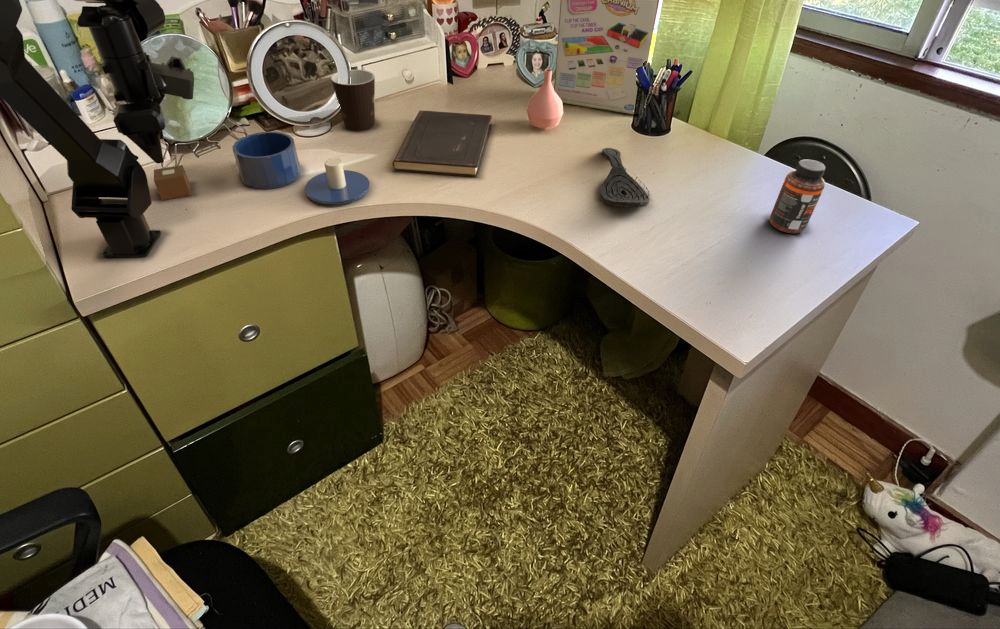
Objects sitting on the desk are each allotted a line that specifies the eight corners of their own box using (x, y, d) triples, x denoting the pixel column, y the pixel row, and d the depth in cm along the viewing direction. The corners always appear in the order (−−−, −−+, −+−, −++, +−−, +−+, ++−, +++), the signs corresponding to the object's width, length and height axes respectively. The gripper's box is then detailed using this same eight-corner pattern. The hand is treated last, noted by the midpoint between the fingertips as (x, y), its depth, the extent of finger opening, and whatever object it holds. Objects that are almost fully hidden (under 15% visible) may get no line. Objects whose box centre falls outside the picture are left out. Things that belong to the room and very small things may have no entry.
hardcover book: (491, 125, 125) (491, 115, 124) (477, 177, 108) (477, 166, 107) (418, 120, 126) (417, 110, 125) (393, 171, 109) (391, 159, 108)
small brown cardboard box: (191, 195, 101) (183, 175, 98) (161, 200, 99) (153, 179, 97) (189, 184, 104) (182, 163, 101) (161, 189, 102) (153, 168, 100)
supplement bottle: (801, 239, 96) (829, 177, 88) (764, 228, 98) (788, 166, 90) (808, 222, 100) (835, 162, 92) (772, 212, 102) (796, 152, 94)
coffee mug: (371, 135, 120) (365, 86, 113) (332, 130, 121) (323, 82, 114) (390, 113, 129) (385, 66, 122) (353, 109, 130) (347, 62, 123)
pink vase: (538, 116, 129) (542, 61, 121) (568, 126, 126) (574, 69, 118) (518, 128, 124) (521, 71, 116) (549, 138, 121) (554, 80, 113)
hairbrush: (630, 138, 116) (658, 198, 96) (627, 156, 118) (654, 217, 99) (588, 138, 116) (609, 197, 96) (586, 155, 118) (606, 217, 98)
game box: (643, 108, 134) (669, -25, 116) (639, 117, 130) (665, -20, 112) (557, 93, 139) (569, -37, 121) (550, 101, 136) (562, -31, 117)
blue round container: (294, 188, 103) (287, 157, 99) (234, 189, 103) (225, 158, 99) (305, 161, 111) (299, 131, 107) (249, 161, 110) (241, 131, 106)
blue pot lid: (366, 207, 100) (362, 177, 96) (300, 207, 99) (293, 178, 95) (373, 175, 108) (369, 146, 104) (312, 175, 107) (306, 147, 103)
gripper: (182, 66, 82) (215, 167, 92) (179, 29, 95) (209, 121, 105) (93, 76, 78) (138, 179, 89) (102, 35, 91) (140, 130, 102)
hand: (160, 150), depth 96 cm, fingers open, 9 cm apart
